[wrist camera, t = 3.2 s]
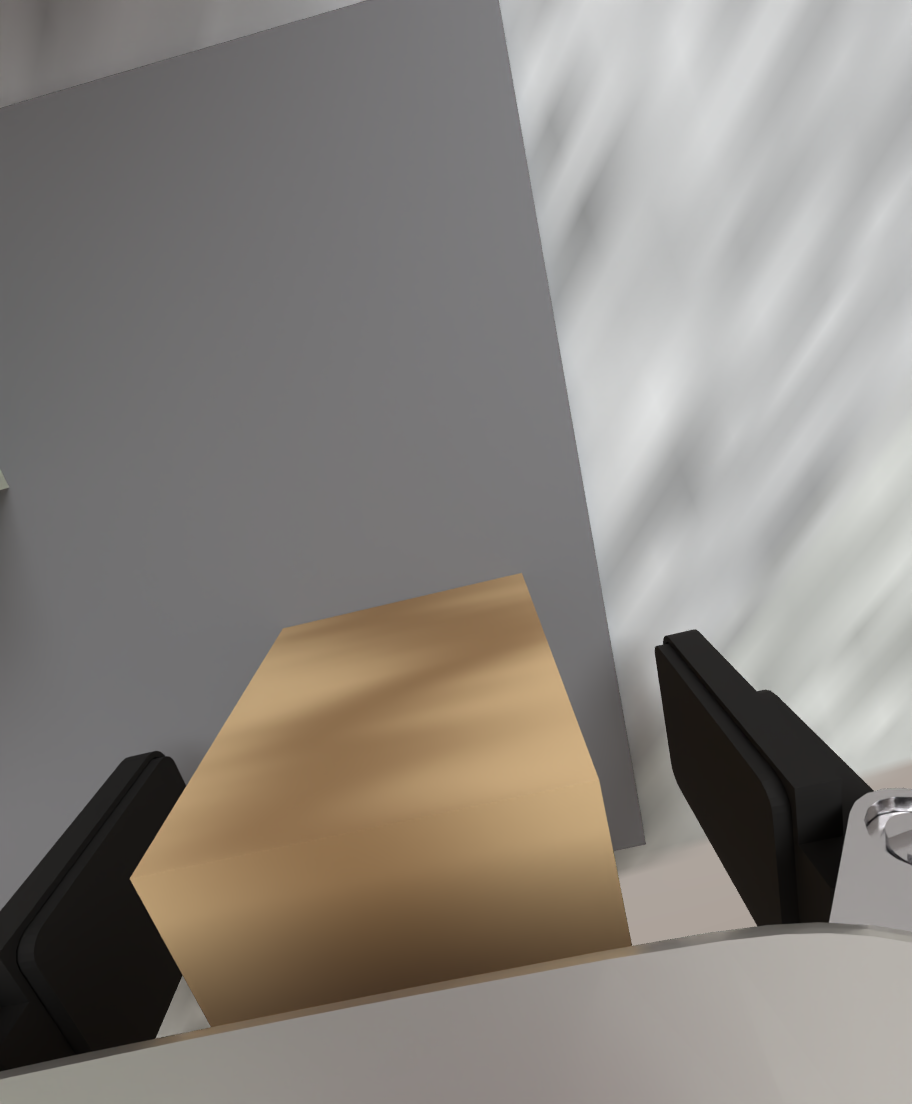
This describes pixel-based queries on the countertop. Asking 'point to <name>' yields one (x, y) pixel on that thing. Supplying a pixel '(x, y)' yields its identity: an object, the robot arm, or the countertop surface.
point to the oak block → (387, 814)
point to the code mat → (272, 388)
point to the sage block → (3, 482)
